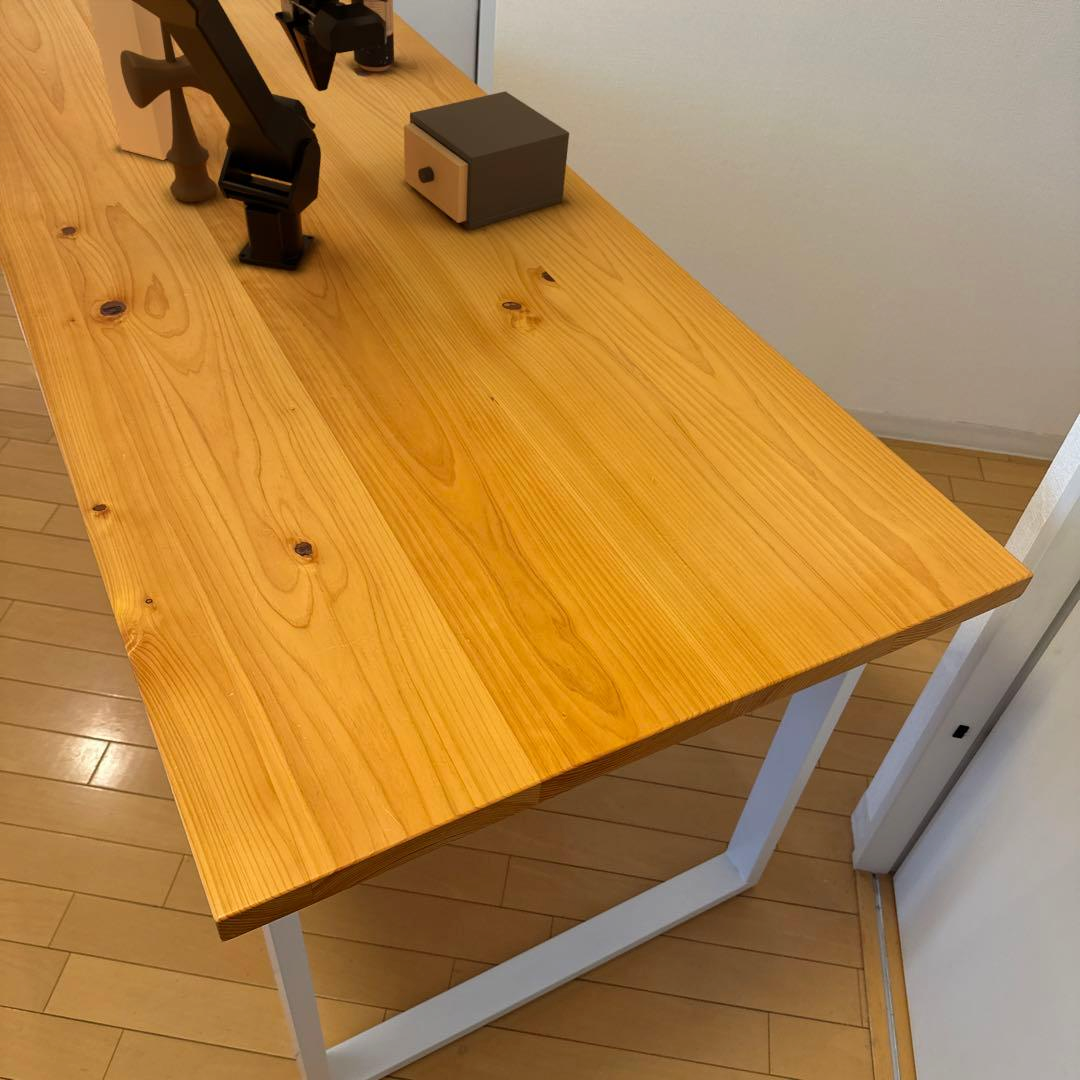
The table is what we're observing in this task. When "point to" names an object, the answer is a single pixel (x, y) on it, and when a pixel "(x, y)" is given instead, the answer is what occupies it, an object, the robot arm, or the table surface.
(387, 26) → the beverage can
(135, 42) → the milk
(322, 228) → the table surface
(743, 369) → the table surface
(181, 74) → the kendama
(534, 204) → the cabinet
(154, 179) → the table surface
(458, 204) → the drawer
